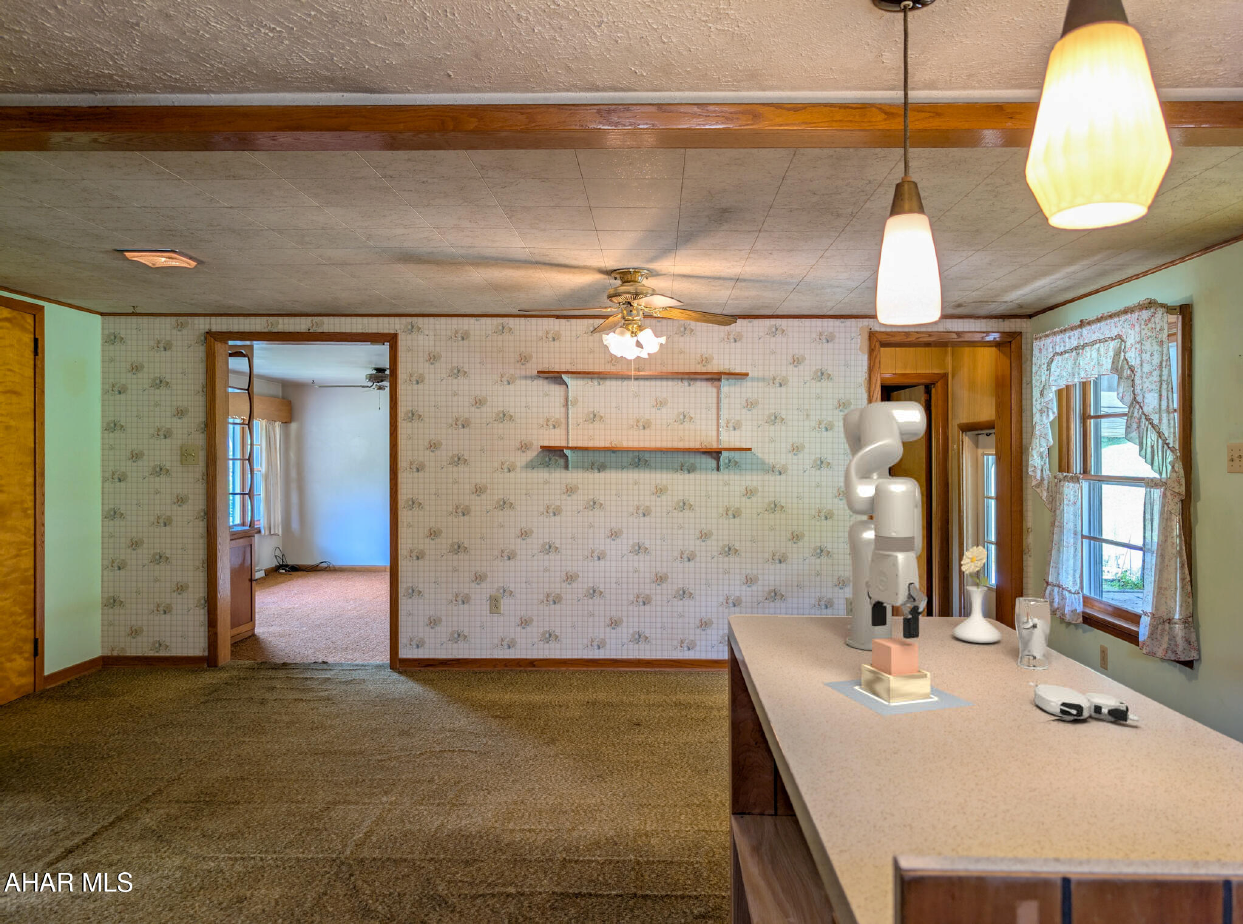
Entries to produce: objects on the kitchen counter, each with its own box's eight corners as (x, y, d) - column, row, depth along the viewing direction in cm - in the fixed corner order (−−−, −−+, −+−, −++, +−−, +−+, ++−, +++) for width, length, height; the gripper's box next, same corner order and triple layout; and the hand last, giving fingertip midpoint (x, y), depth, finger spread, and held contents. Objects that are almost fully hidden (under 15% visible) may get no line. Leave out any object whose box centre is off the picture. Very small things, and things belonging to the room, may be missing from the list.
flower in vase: (947, 634, 193) (947, 541, 193) (994, 636, 191) (993, 542, 191) (960, 646, 181) (959, 547, 181) (1010, 649, 178) (1009, 547, 178)
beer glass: (1041, 662, 166) (1041, 597, 166) (1056, 671, 160) (1056, 603, 160) (1010, 661, 167) (1009, 596, 167) (1023, 670, 160) (1023, 602, 160)
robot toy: (1112, 713, 135) (1024, 701, 139) (1114, 689, 135) (1026, 678, 139) (1143, 737, 123) (1046, 724, 127) (1145, 711, 123) (1048, 698, 127)
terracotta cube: (872, 669, 144) (872, 639, 144) (898, 667, 145) (898, 637, 145) (891, 678, 138) (891, 646, 138) (918, 675, 139) (918, 644, 139)
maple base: (861, 688, 144) (861, 664, 144) (899, 684, 147) (899, 660, 147) (890, 702, 136) (890, 677, 136) (930, 698, 138) (930, 673, 138)
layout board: (822, 687, 148) (822, 682, 148) (905, 679, 154) (905, 674, 154) (883, 721, 129) (883, 714, 129) (975, 709, 135) (975, 704, 135)
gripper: (851, 540, 149) (852, 622, 149) (907, 551, 132) (907, 644, 133) (883, 538, 151) (883, 620, 151) (941, 549, 134) (941, 641, 135)
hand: (894, 631), depth 142 cm, fingers open, 9 cm apart
